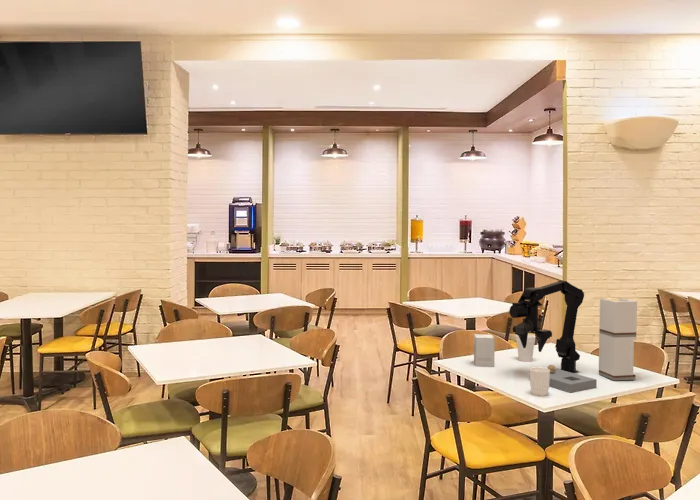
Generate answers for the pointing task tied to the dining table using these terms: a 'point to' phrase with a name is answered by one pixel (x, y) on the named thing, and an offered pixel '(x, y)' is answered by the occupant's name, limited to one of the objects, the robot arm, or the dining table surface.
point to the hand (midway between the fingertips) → (532, 350)
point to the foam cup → (527, 352)
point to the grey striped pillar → (617, 338)
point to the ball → (552, 368)
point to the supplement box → (483, 350)
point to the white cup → (539, 381)
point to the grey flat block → (570, 381)
